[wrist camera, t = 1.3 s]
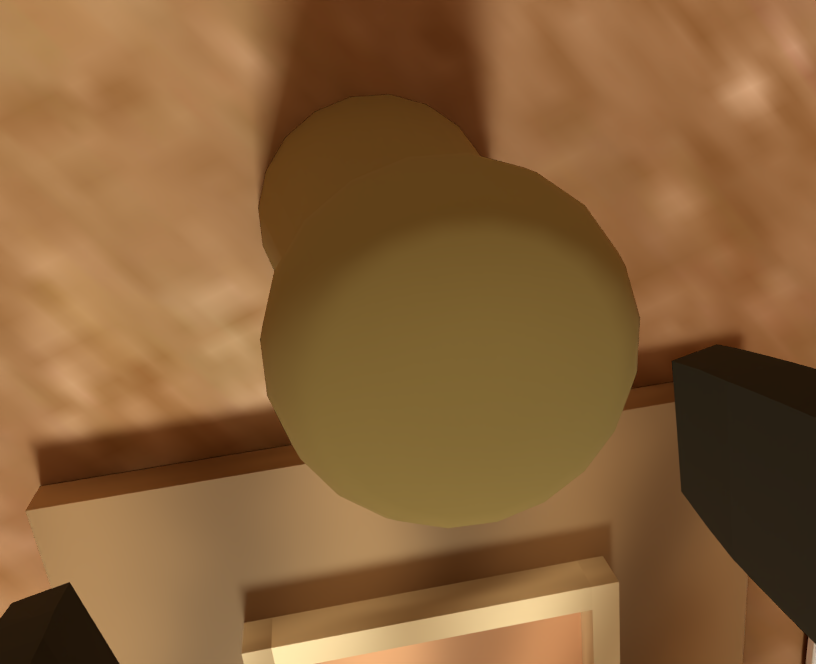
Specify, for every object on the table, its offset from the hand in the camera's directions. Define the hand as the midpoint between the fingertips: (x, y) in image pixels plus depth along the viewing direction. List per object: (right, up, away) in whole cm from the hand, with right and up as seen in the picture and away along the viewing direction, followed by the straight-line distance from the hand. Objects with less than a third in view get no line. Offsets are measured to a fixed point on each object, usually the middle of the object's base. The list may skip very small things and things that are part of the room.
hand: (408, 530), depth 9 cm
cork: (-1, +5, +11) cm, 12 cm away
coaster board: (+1, -10, +16) cm, 19 cm away
